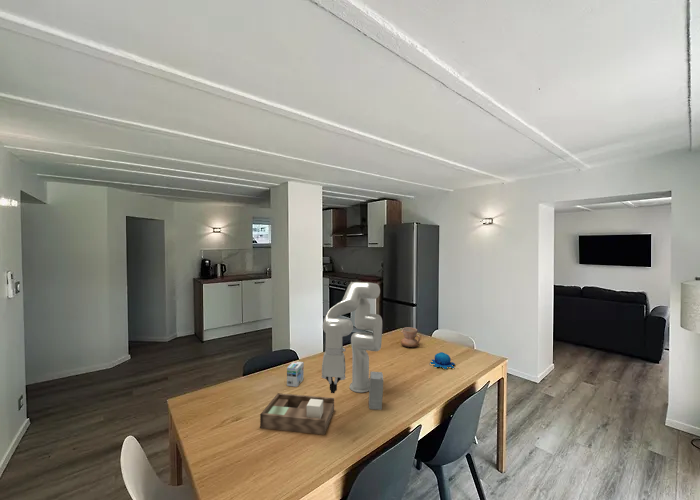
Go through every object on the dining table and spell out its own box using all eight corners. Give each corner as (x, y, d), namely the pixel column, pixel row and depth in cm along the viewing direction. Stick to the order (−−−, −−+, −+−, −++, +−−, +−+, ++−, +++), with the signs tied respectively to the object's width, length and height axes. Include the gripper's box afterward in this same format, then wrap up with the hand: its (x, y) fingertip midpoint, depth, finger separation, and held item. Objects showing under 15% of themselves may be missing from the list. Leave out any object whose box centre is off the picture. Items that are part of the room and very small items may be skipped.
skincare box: (368, 401, 152) (368, 370, 153) (382, 401, 152) (382, 371, 152) (369, 410, 144) (369, 377, 144) (383, 410, 144) (383, 378, 144)
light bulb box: (297, 387, 168) (297, 368, 168) (286, 386, 169) (286, 367, 169) (303, 379, 178) (304, 361, 178) (293, 378, 179) (293, 360, 179)
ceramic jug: (396, 345, 243) (396, 328, 243) (405, 341, 253) (406, 325, 253) (414, 351, 230) (414, 333, 230) (424, 347, 240) (424, 329, 240)
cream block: (323, 412, 134) (323, 399, 134) (319, 420, 128) (319, 406, 128) (310, 411, 135) (310, 398, 135) (306, 419, 129) (306, 405, 129)
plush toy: (456, 363, 206) (456, 351, 207) (454, 372, 191) (454, 359, 191) (431, 359, 213) (432, 347, 213) (428, 367, 198) (428, 355, 198)
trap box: (334, 410, 143) (334, 398, 144) (324, 434, 124) (324, 420, 124) (277, 405, 148) (277, 393, 148) (260, 427, 129) (260, 414, 129)
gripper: (351, 348, 133) (351, 389, 132) (319, 346, 135) (319, 386, 135) (349, 354, 125) (348, 397, 125) (315, 352, 128) (314, 394, 127)
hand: (333, 391), depth 130 cm, fingers closed
